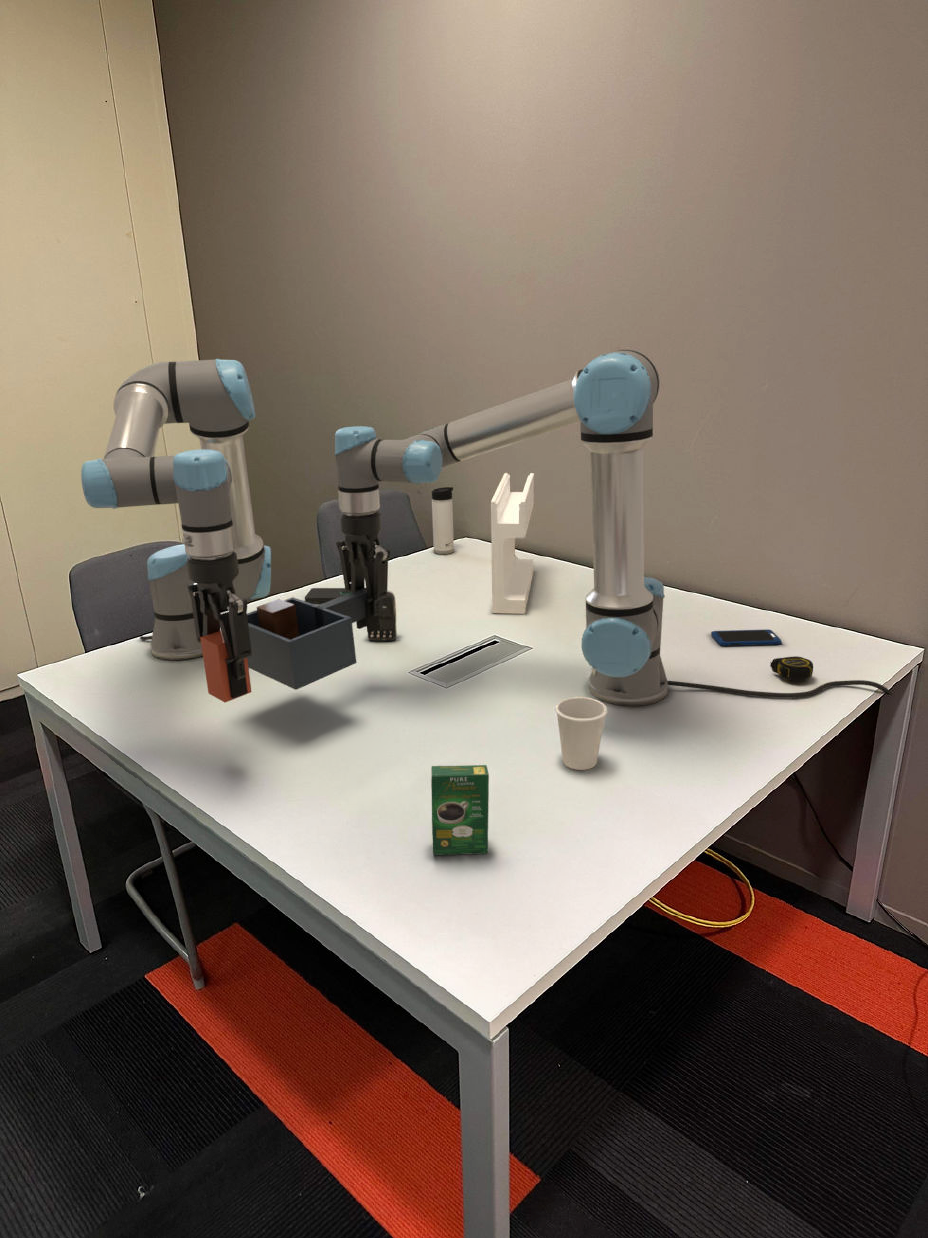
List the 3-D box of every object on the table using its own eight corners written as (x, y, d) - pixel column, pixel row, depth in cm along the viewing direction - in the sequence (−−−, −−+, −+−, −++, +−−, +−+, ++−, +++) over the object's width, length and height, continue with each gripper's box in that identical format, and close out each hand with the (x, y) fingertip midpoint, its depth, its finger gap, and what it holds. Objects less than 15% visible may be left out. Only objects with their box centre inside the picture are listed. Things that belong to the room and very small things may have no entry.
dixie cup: (592, 779, 138) (594, 723, 134) (546, 766, 142) (546, 712, 138) (612, 756, 144) (615, 703, 141) (567, 744, 148) (569, 692, 145)
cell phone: (782, 644, 188) (782, 641, 188) (719, 646, 188) (719, 643, 188) (770, 632, 195) (771, 629, 195) (710, 633, 195) (710, 630, 195)
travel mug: (452, 554, 260) (450, 489, 253) (431, 553, 262) (429, 489, 254) (456, 549, 266) (455, 485, 259) (436, 548, 267) (434, 485, 260)
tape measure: (799, 669, 175) (801, 652, 174) (818, 683, 169) (820, 665, 168) (769, 672, 174) (770, 655, 173) (786, 686, 168) (788, 669, 167)
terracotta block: (208, 693, 139) (200, 637, 136) (234, 683, 143) (227, 628, 139) (224, 702, 136) (217, 645, 133) (251, 692, 140) (244, 635, 136)
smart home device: (380, 597, 219) (304, 597, 221) (380, 604, 220) (304, 603, 221) (385, 587, 227) (311, 587, 228) (386, 593, 227) (312, 593, 229)
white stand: (505, 570, 244) (504, 473, 234) (533, 571, 243) (533, 473, 233) (492, 612, 211) (490, 501, 202) (524, 613, 210) (524, 501, 200)
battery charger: (365, 642, 195) (362, 595, 191) (368, 636, 199) (365, 589, 195) (395, 642, 195) (392, 595, 191) (398, 636, 198) (395, 589, 194)
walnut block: (279, 663, 155) (272, 612, 152) (264, 656, 159) (256, 606, 155) (302, 654, 159) (295, 604, 155) (286, 647, 162) (279, 598, 158)
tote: (295, 690, 147) (289, 642, 143) (239, 663, 158) (231, 618, 155) (411, 638, 165) (407, 595, 161) (352, 618, 176) (348, 577, 173)
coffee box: (488, 842, 122) (487, 762, 118) (490, 854, 120) (488, 773, 115) (432, 844, 122) (429, 764, 117) (432, 857, 119) (429, 775, 115)
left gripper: (159, 548, 134) (180, 681, 143) (221, 571, 123) (240, 715, 131) (202, 537, 139) (220, 667, 148) (265, 558, 128) (281, 698, 136)
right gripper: (403, 513, 157) (409, 632, 166) (349, 502, 167) (357, 614, 176) (372, 521, 152) (380, 643, 160) (318, 509, 162) (328, 624, 171)
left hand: (229, 689), depth 139 cm, fingers closed on terracotta block, 5 cm apart
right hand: (368, 628), depth 168 cm, fingers closed on tote, 2 cm apart
